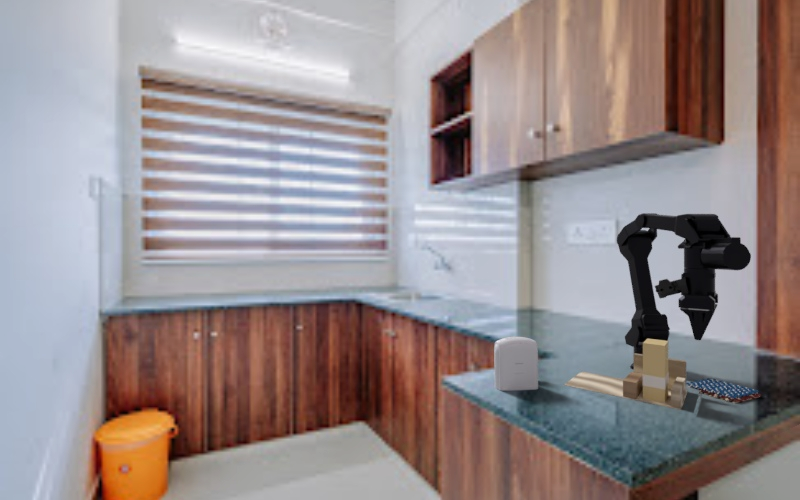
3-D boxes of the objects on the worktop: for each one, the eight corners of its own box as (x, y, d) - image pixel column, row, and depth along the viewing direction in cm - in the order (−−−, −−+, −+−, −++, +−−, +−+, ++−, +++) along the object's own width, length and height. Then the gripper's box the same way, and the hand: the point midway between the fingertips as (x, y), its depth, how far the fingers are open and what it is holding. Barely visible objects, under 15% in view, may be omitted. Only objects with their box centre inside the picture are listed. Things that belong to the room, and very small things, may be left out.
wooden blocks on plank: (581, 373, 106) (581, 345, 106) (687, 393, 91) (687, 360, 91) (563, 387, 95) (563, 355, 95) (680, 412, 81) (680, 374, 81)
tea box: (647, 390, 91) (647, 338, 91) (668, 395, 89) (668, 340, 89) (642, 398, 87) (642, 343, 87) (665, 402, 84) (665, 345, 84)
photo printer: (497, 393, 91) (497, 339, 91) (491, 387, 95) (491, 335, 95) (541, 392, 92) (541, 338, 92) (533, 386, 96) (533, 334, 96)
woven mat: (736, 406, 85) (736, 397, 85) (683, 391, 95) (683, 382, 95) (763, 399, 89) (763, 390, 89) (710, 385, 99) (710, 376, 99)
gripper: (663, 266, 104) (663, 326, 104) (651, 268, 90) (651, 338, 90) (718, 267, 97) (718, 332, 97) (714, 270, 82) (714, 346, 82)
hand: (699, 336), depth 91 cm, fingers open, 9 cm apart
